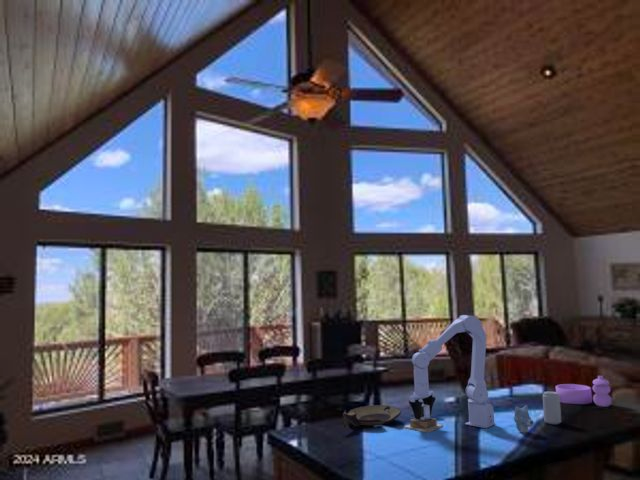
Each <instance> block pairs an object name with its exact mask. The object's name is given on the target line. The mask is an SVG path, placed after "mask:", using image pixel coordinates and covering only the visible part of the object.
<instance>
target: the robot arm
mask: <svg viewBox="0 0 640 480" xmlns="http://www.w3.org/2000/svg"><path fill="white" fill-rule="evenodd" d="M483 327H484V326H483V325H482V321H481V320H480V319H479V318H477V317H476V316H475V315H468V314H462V315H459V317H458V318H456V319H455V320H454V321H452V323H451V324H449V326H448V327H447V328H445V330H444V331H442V333H441V334H440V335H438V337H437V338H436V339H429V340H427V341H426V344H425V345H424V346H422V348H419V349H418V351H417V352H416V353H414V354H412V358H411V359H410V360H411V363H412V365H413V383H414V392H412V395H410V396H409V400H408V404H409V405H410V408H411V410H412V413H413V415H414V418H415V419H421V408H422V404H425V405H429V408H430V417H431V415H432V411H433V407H434V403H435V401H436V397H435V391H433V390H430V388H429V387H430V385H429V384H430V383H429V372H428V371H429V369H428V366H429V365H430V361H432V360H433V359H434V358H435V357H436V356H437V355H438V354H439V353H440V352H441V351H443V345H445V344H446V343H447V342H448V341H449V340H450V339H452V338H453V337H454V336H455V335H456V334H458V333H459V334H460V333H465V332H466V333H467V334H468V335H469V336H470V337H471V339H472V349H471V351H472V352H471V365H470V366H471V367H470V377H469V379H468V380H467V386H466V387H465V394H466V396H467V397H468V399H467V406H468V407H467V409H468V421H467V422H465V423H464V424H465V425H467V426H472V427H478V428H483V429H487V428H489V427H492V426H495V425H496V422H495V411H494V406H493V405H492V404H491V403H488V402H487V400H488V398H489V393H488V390H487V383H486V381H485V367H486V366H485V365H486V352H487V350H486V349H487V347H486V346H487V334H486V331H485V330H484V328H483ZM420 400H422V401H420Z"/></svg>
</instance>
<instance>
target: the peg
mask: <svg viewBox="0 0 640 480" xmlns="http://www.w3.org/2000/svg"><path fill="white" fill-rule="evenodd" d="M430 418H431V416H430V408H429V405H425V404H424V403H423V404H422V408H421V419H416V420H417V421H423V422H426V421H429V420H430Z"/></svg>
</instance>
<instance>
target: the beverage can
mask: <svg viewBox="0 0 640 480" xmlns="http://www.w3.org/2000/svg"><path fill="white" fill-rule="evenodd" d="M542 405H543V406H542V409H543V421H544V422H545V423H546V424H548V425H559V424H561V423H562V410H561V402H560V396H559V395H558V393H557V392H556V391H552V390H551V391H543V394H542Z"/></svg>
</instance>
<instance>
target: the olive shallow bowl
mask: <svg viewBox="0 0 640 480" xmlns="http://www.w3.org/2000/svg"><path fill="white" fill-rule="evenodd" d="M401 413H402V410H401V409H400V408H399V407H396V406H395V405H389V404H377V405H376V404H375V405H365V406H359V407H356V408H353V409H351V410H349V411H348V412H347V413H346V412H343V413H342V417H344V418H345V419H346V420H347V421H349V422H350V424H352V425H353V426H355V427H358V426H365V427H366V426H369V427H371V426H380V425H384V424H388V423H390V422H392V421H394V420H396V419H397V418H399V417H400V415H401Z"/></svg>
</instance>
